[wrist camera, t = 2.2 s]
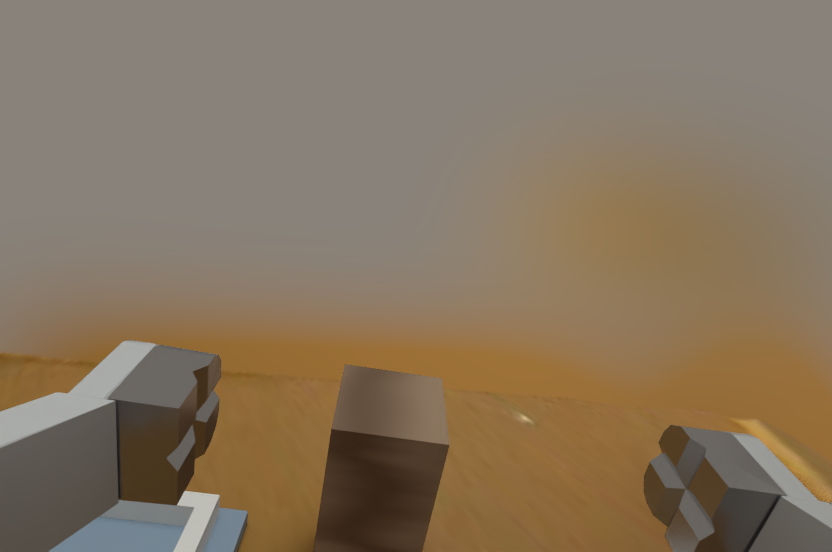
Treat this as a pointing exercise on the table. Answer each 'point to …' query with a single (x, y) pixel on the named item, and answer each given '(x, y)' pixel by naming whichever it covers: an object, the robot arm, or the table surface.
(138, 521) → the baseplate
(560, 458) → the table surface
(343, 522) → the pillar
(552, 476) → the table surface
